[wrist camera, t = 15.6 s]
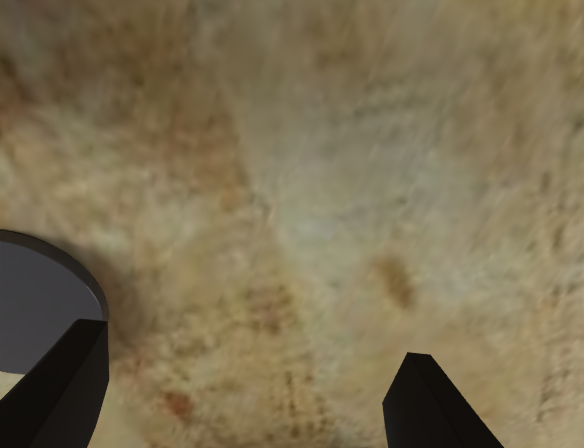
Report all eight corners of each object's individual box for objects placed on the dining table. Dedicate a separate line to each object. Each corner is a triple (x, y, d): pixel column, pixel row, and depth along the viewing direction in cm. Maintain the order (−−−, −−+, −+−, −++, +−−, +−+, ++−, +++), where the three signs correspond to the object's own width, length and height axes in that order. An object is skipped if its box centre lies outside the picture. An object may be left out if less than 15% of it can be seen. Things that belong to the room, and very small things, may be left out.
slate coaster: (-63, 355, 24) (-73, 367, 23) (-109, 215, 19) (-123, 225, 18) (110, 370, 25) (106, 381, 24) (107, 243, 20) (101, 253, 20)
